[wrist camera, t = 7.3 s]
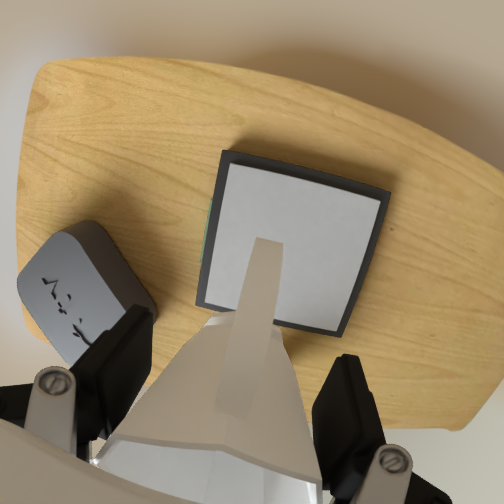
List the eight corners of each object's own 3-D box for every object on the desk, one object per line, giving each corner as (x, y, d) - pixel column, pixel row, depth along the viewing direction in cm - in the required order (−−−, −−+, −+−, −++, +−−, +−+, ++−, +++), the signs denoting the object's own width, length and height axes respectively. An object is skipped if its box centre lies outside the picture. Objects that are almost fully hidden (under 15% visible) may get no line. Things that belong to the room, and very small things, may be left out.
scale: (223, 149, 26) (217, 148, 24) (384, 189, 26) (393, 193, 23) (197, 296, 31) (190, 308, 28) (338, 327, 30) (342, 341, 28)
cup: (165, 378, 15) (109, 499, 7) (186, 194, 12) (45, 267, 4) (290, 408, 15) (287, 540, 7) (358, 235, 11) (457, 363, 4)
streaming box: (167, 317, 32) (150, 343, 27) (96, 354, 36) (78, 376, 31) (94, 209, 29) (65, 220, 24) (36, 269, 33) (11, 283, 28)
